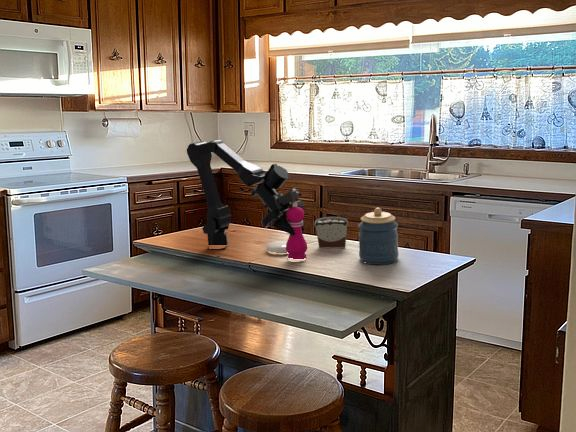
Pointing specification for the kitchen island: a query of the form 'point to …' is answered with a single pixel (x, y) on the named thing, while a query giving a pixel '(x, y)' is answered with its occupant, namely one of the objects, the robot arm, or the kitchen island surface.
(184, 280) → the kitchen island surface
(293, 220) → the pepper mill
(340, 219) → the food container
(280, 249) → the stand
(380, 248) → the canister
